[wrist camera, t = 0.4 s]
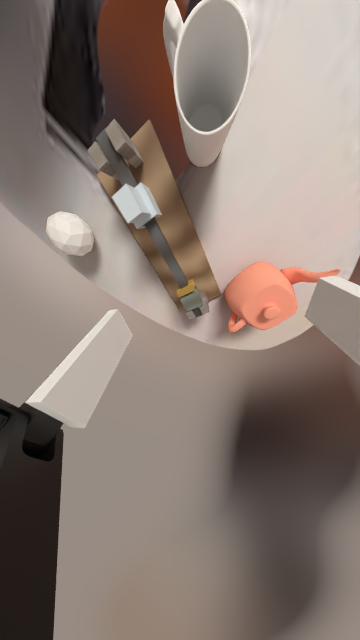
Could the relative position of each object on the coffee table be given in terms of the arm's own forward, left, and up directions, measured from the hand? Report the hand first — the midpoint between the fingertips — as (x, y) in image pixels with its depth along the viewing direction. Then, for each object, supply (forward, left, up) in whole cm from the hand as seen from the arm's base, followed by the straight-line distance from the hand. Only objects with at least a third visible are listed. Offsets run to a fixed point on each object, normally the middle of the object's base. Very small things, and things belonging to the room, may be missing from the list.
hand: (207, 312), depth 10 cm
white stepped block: (-11, -5, -22) cm, 25 cm away
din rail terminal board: (-4, -5, -27) cm, 27 cm away
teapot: (+14, +9, -27) cm, 32 cm away
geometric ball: (-15, -22, -27) cm, 38 cm away
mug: (-16, +7, -27) cm, 32 cm away
